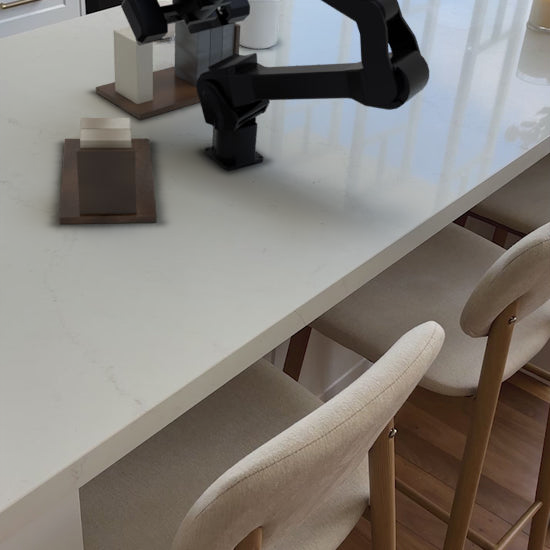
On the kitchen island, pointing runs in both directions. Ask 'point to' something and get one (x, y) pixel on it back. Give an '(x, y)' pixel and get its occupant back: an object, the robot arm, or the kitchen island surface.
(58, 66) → the kitchen island surface
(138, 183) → the brown wooden stand
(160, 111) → the bookend
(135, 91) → the white book
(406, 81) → the robot arm
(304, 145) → the kitchen island surface
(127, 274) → the kitchen island surface
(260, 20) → the mug
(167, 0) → the egg
